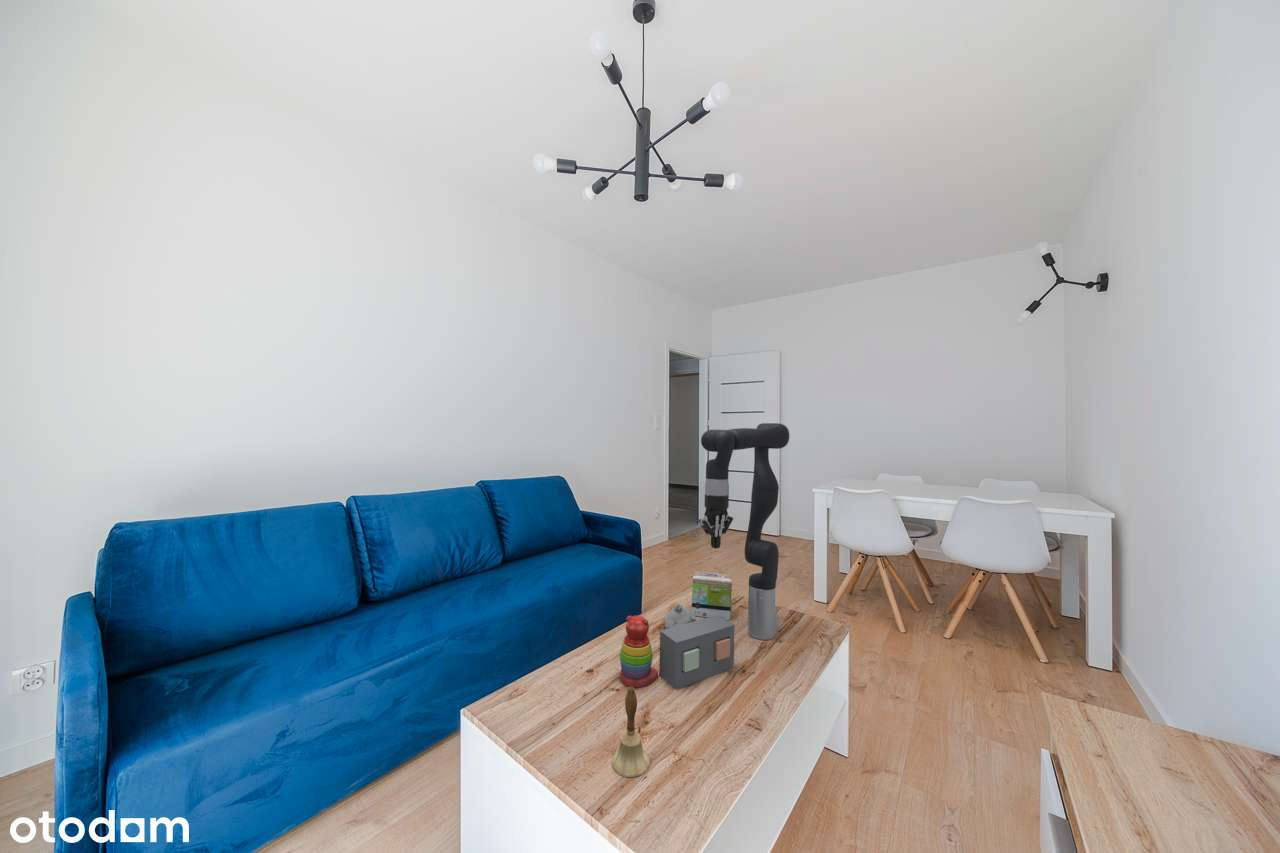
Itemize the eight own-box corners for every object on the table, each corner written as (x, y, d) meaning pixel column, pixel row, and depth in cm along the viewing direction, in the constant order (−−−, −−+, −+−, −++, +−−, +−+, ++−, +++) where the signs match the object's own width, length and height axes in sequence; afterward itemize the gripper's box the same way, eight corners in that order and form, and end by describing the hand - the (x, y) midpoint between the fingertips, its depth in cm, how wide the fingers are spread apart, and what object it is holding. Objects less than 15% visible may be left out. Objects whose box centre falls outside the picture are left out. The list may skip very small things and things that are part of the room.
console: (715, 655, 138) (716, 614, 138) (733, 667, 131) (734, 624, 131) (659, 675, 126) (660, 630, 126) (675, 689, 120) (676, 642, 120)
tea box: (691, 617, 166) (692, 578, 166) (692, 606, 176) (693, 570, 176) (731, 620, 164) (731, 581, 164) (730, 609, 174) (730, 573, 174)
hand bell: (610, 777, 89) (612, 700, 89) (612, 747, 97) (614, 677, 98) (650, 778, 89) (652, 700, 89) (649, 748, 98) (650, 677, 98)
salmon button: (720, 650, 133) (721, 634, 133) (729, 656, 129) (730, 639, 129) (708, 654, 130) (708, 637, 130) (717, 660, 127) (717, 643, 127)
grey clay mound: (688, 646, 149) (684, 620, 146) (659, 636, 155) (655, 611, 153) (703, 624, 158) (700, 599, 156) (675, 616, 165) (672, 591, 162)
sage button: (690, 660, 126) (690, 643, 126) (698, 667, 123) (699, 649, 123) (676, 665, 124) (676, 647, 124) (684, 672, 120) (685, 654, 120)
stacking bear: (660, 674, 127) (661, 613, 127) (646, 692, 118) (647, 627, 118) (627, 664, 132) (628, 606, 132) (611, 682, 122) (612, 619, 123)
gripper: (724, 490, 143) (722, 542, 143) (692, 492, 136) (691, 547, 136) (740, 493, 137) (739, 548, 137) (708, 496, 130) (707, 553, 130)
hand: (715, 547), depth 136 cm, fingers closed
